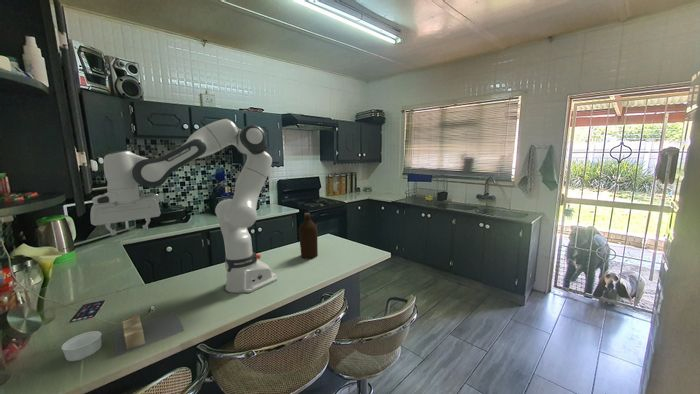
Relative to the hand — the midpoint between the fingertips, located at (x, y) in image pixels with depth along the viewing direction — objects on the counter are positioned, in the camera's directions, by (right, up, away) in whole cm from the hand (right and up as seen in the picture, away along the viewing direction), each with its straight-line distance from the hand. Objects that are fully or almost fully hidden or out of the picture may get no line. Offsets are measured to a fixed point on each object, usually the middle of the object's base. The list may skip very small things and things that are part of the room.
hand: (130, 232), depth 104 cm
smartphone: (-20, -32, +5) cm, 38 cm away
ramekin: (+1, -35, -18) cm, 39 cm away
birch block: (+16, -31, -18) cm, 39 cm away
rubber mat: (+14, -33, -10) cm, 37 cm away
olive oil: (+59, -21, +56) cm, 84 cm away
